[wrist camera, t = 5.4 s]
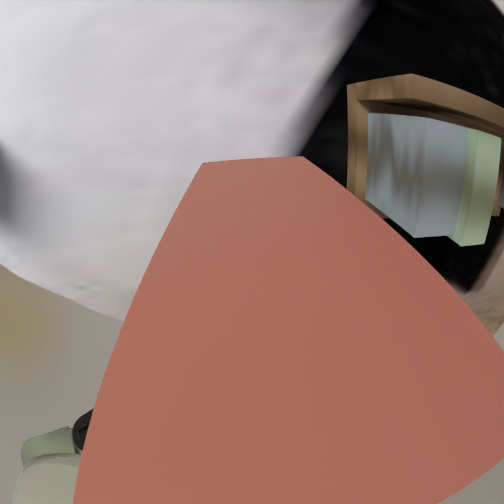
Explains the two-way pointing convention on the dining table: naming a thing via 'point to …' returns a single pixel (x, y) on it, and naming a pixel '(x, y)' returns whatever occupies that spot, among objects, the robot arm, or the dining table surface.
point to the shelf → (419, 106)
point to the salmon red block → (291, 358)
